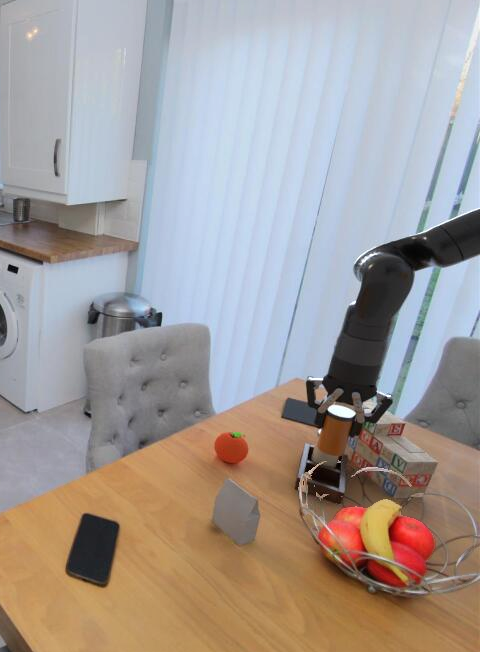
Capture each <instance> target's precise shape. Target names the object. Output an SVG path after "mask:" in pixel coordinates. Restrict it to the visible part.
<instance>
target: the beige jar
mask: <svg viewBox="0 0 480 652" xmlns="http://www.w3.org/2000/svg"><path fill="white" fill-rule="evenodd" d="M320 432H321V429H318V430H317V435H316V440H315V443H314V450H313V453H312V457H311V460H310V461H312V462H315V463H318V464H319V463H321V462H323V461H327V462H324V463H323V464H321V465H325V466H328V467H331V468H334V469H335V468H336V465H337V462H338V459H339V456H333V455H329V454H326V453H324V452H322V451H320V450H319V449H318V448H317V442H318V439H319V435H320Z"/></svg>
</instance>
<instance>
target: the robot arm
mask: <svg viewBox="0 0 480 652" xmlns="http://www.w3.org/2000/svg"><path fill="white" fill-rule="evenodd" d="M479 256H480V207H478V208H476V209H473V210H470V211H468V212H465V213H463V214H461V215H457V216H456V217H453V218H451V219H449V220H446V221H444V222H442V223H440V224H438V225H435V226H432V227H431V228H429V229H427V230H424V231H422V232H419V233H416V234H411V235H408V236H405V237H401V238H398V239H394V240H391V241H388V242H385V243H382V244H380V245H377V246H374V247H372V248H370V249H368V250H367V251H365V252H364V253H362V254H361V255H360V256H359V257H357V259H356V260H355V261H354V264H353V267H352V272H353V275H354V277H355V278H356V280H357V281H358V282H359V283H360V287H359V291H358V295H357V297H356V300H355V301H352V302H351V303H350V304H349V305H348V307H347V309H346V311H345V313H344V316H343V320H342V324H341V329H340V330H339V331H340V332H339V334H338V336H337V337H336V341H335V343H334V346H333V352H332V355H331V359H330V363H329V366H328V370H327V373H326V374H325V375H324V376H323V377H322V378H321V377H320V378H319V377H316V378H315V377H314V376H313V375H308V376H307V377H306V380H305V389H306V400H307V401H306V402H308V406H309V407H310V408H314V409H316V410H317V413H316V417H315V421H314V424H315V425H318V426H317V427H316V429H318V430H320V429H321V428H322V424H323V421H324V417H325V413H326V410H327V409H328V408H329V407H330V406H331V405H334V404H335V402H339V403H346V404H348V405H351V406H354V409H355V413H356V418H355V420H354V423H353V426H352V429H351V432H350V437H352V438H354V437H355V436H359V435H360V432H361V429H362V426H363V424H364V423H365V422H371V423H377V422H378V421H379V419H380V418H381V417H382V416H383V414H384V413H385V412H386V411H388V409H389V408H390V407H391V406H392V404H393V403H394V397H393V395H392V393H389V392H388V393H384V392H382V391H380V390H378V388H377V383H378V379H379V376H380V373H381V370H382V367H383V364H384V360H385V358H386V354H387V351H388V345H389V339H390V335H391V332H392V329H393V326H394V323H395V318H396V315H398V313H399V311H400V310H401V308H403V306H404V303H405V302H406V300H407V299H408V296H409V295H410V293H411V291H412V289H413V286H414V282H415V277H416V272H418V271H422V270H424V269H427V268H437V269H438V268H439V269H443V268H444V269H445V268H449V267H453V266H455V265H458V264H461V263H462V262H465V261H468V260H471V259H473V258H476V257H479ZM321 385H322V386H323V388H324V389H325V392H326V394H325V396H324V397H323V398H322V400H321V401H319V400H317V395H316V393H317V392H316V390H318V389H319V388H320V386H321ZM374 397H375V398H376V399H375V403H376V404H377V405H376V406H375V408H374V409H373V410H372V411H371V413H365V412H364V405H363V402H365V401H367V400H369V399H371V400H372V399H373V398H374Z"/></svg>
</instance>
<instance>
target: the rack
mask: <svg viewBox="0 0 480 652" xmlns="http://www.w3.org/2000/svg"><path fill="white" fill-rule="evenodd" d="M314 446H315V444H314V445H313V444H311V443H307V442H305V443H304V445H303V449H302V452H301V456H300V461H299V466H298V469H297V474H296V479H295V483H294V487H293V490H295V491H298V487H299V482H300V479H301V476H302V474H304V473H305V472H308V471H309V470H311V469H312V468H313V467H315V466H316V465H317V464H318V463H315V462H312V461H310V460H311V457H312V453H313V450H314ZM338 460H339V461H341V463H337V465H336V468H335V469H334V468H331V467H328V466H325V465H319V466H318V467H317V468H316V469H315V470H314V471H313V473H312V474H311V475H312V476H311V478H312V480H311V479H308V478H307V485H308V494H307V495H309V496H312V497H315V498H317V497H316V492H317V493H318V494H319V495H320V496H322V495H323V494H329V495H327V496H325V497H323V499H322V500H324V501H326V502H329V503H333V504H336V503H337V504H336V505H338V504H341V505H342V504H343V503H342V502H343V500H344V497H345V494H346V481H347V469H348V461H349V458H348V455H345V454H343V455H341V456H339V459H338ZM346 464H347V465H346ZM303 485H304V481H303ZM314 485H315V487H314ZM298 492H299V491H298ZM341 496H343V497H341Z"/></svg>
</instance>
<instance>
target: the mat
mask: <svg viewBox="0 0 480 652" xmlns="http://www.w3.org/2000/svg"><path fill="white" fill-rule="evenodd" d="M316 413H317V410H316V409H314V408H310V407H309V406H308V401H303V400H300V399H296V398H293V397H292V398H291V397H287V398H286V401H285V404H284V407H283V410H282V414H281V419H285V420H288V421H292V422H296V423H299V424H303V425H307V426H311V427H314V428H317V426H318V425H315V424H314V421H315V417H316ZM325 414H326V413H325Z"/></svg>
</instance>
